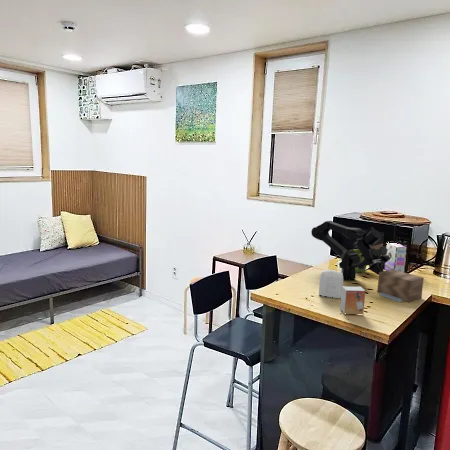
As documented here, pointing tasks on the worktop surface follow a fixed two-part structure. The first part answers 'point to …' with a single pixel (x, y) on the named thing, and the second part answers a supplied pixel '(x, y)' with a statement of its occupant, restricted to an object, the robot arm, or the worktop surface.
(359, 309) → the small box
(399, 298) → the bay rails
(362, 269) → the plant pot
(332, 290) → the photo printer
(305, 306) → the worktop surface
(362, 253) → the robot arm
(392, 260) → the candy box
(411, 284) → the walnut box
